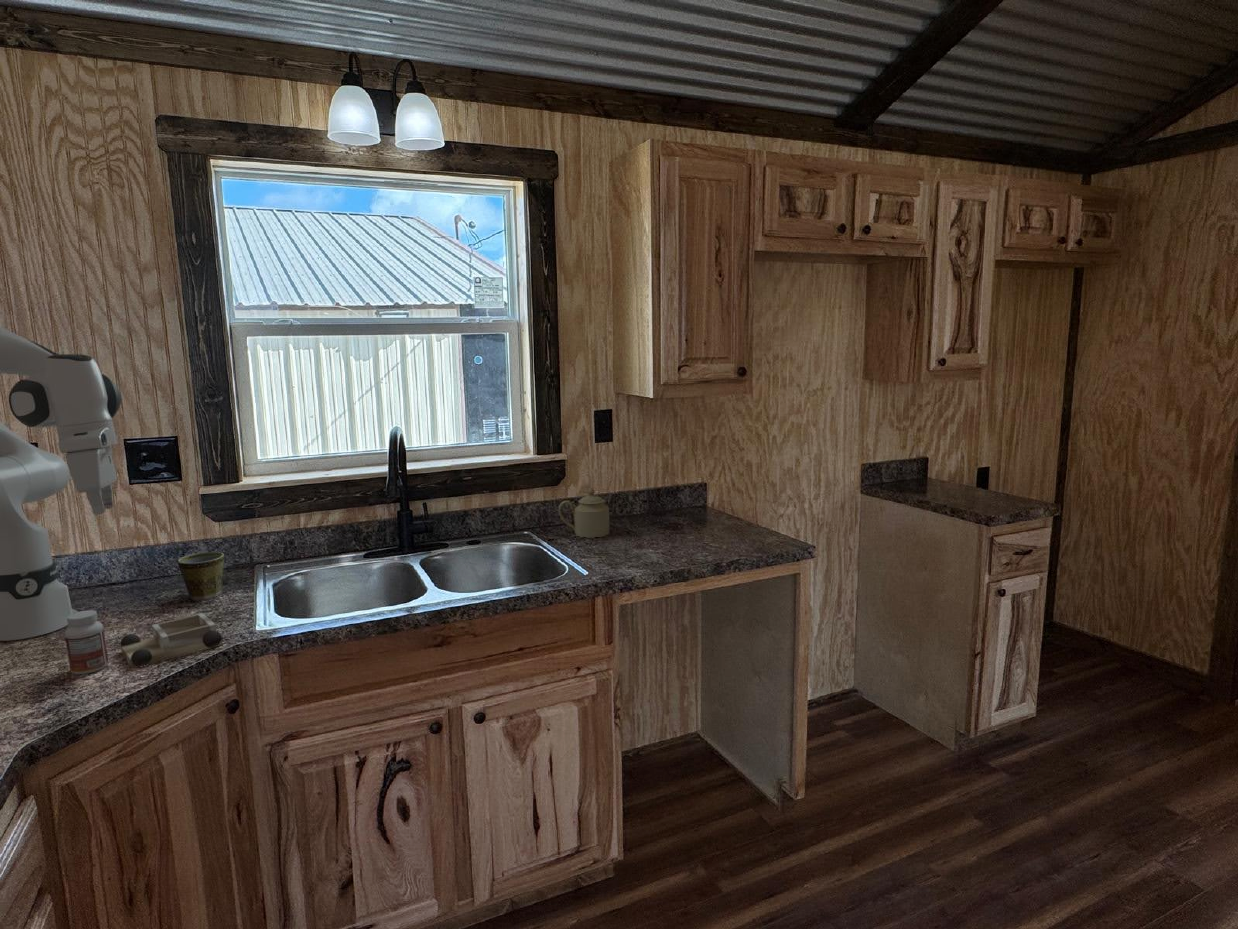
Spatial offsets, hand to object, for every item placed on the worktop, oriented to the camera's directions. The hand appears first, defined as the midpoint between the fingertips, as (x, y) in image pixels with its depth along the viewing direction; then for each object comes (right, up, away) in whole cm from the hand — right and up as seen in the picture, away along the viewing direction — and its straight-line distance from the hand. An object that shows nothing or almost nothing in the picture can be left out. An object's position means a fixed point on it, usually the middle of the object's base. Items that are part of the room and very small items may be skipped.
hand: (104, 511), depth 143 cm
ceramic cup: (-6, -24, +45) cm, 51 cm away
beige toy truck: (+6, -29, +11) cm, 32 cm away
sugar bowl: (+88, -14, +94) cm, 129 cm away
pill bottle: (-5, -31, +3) cm, 32 cm away
